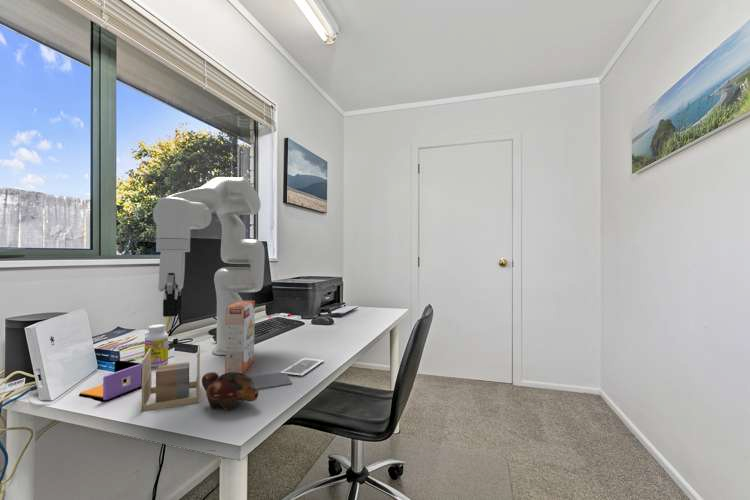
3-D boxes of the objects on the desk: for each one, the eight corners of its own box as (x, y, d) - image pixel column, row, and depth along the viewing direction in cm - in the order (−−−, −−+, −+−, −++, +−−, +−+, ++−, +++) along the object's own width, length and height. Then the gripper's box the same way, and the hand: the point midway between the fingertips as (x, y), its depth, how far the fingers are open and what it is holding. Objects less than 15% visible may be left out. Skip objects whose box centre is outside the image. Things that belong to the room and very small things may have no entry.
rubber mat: (250, 377, 102) (250, 376, 102) (285, 372, 106) (285, 371, 106) (254, 390, 93) (254, 388, 93) (291, 384, 97) (291, 382, 97)
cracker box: (244, 375, 104) (245, 306, 104) (224, 375, 104) (224, 306, 104) (255, 360, 118) (255, 299, 118) (237, 361, 118) (237, 300, 118)
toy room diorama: (149, 387, 96) (149, 362, 96) (105, 405, 84) (105, 377, 84) (117, 382, 99) (118, 358, 99) (70, 399, 88) (70, 372, 88)
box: (158, 396, 89) (158, 365, 89) (189, 391, 92) (189, 362, 92) (155, 404, 84) (155, 371, 84) (188, 399, 87) (188, 367, 87)
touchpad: (324, 363, 117) (324, 356, 117) (302, 379, 102) (302, 371, 102) (303, 361, 119) (303, 354, 119) (279, 376, 105) (279, 369, 105)
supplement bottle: (139, 368, 110) (139, 328, 110) (152, 361, 117) (152, 323, 117) (160, 367, 110) (161, 328, 111) (172, 361, 117) (172, 323, 117)
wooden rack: (149, 393, 91) (149, 347, 91) (199, 385, 96) (199, 342, 96) (141, 412, 80) (141, 360, 80) (198, 402, 85) (198, 354, 85)
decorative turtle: (214, 395, 90) (214, 365, 90) (268, 400, 87) (268, 368, 87) (187, 412, 80) (187, 378, 80) (246, 418, 77) (247, 383, 77)
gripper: (160, 246, 94) (160, 309, 94) (151, 245, 79) (150, 320, 78) (191, 247, 97) (191, 307, 97) (188, 245, 82) (187, 317, 82)
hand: (172, 313), depth 88 cm, fingers open, 9 cm apart
